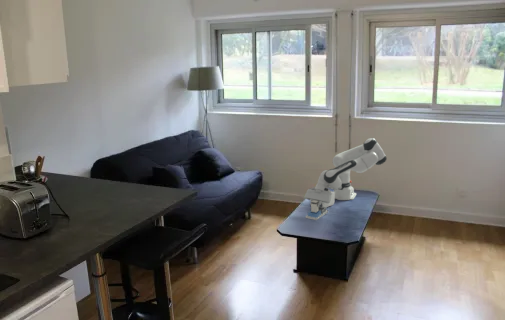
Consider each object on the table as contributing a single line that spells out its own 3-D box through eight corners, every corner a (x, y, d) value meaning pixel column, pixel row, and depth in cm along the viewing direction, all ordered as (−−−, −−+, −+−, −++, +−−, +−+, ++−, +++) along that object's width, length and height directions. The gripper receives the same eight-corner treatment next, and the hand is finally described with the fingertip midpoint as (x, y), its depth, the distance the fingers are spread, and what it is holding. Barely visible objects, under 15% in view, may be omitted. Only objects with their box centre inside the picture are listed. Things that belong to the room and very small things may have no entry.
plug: (313, 209, 341) (313, 199, 339) (318, 210, 339) (318, 200, 337) (311, 211, 338) (311, 201, 336) (316, 212, 335) (316, 202, 334)
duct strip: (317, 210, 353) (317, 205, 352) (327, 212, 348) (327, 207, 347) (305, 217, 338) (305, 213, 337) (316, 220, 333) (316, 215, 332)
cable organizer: (322, 209, 353) (322, 195, 351) (312, 206, 361) (312, 192, 358) (334, 204, 363) (334, 191, 360) (324, 201, 371) (324, 188, 368)
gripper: (307, 185, 346) (300, 201, 340) (331, 189, 334) (325, 206, 329) (309, 189, 350) (303, 205, 345) (334, 193, 339) (328, 210, 333)
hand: (314, 205), depth 337 cm, fingers closed on plug, 4 cm apart
